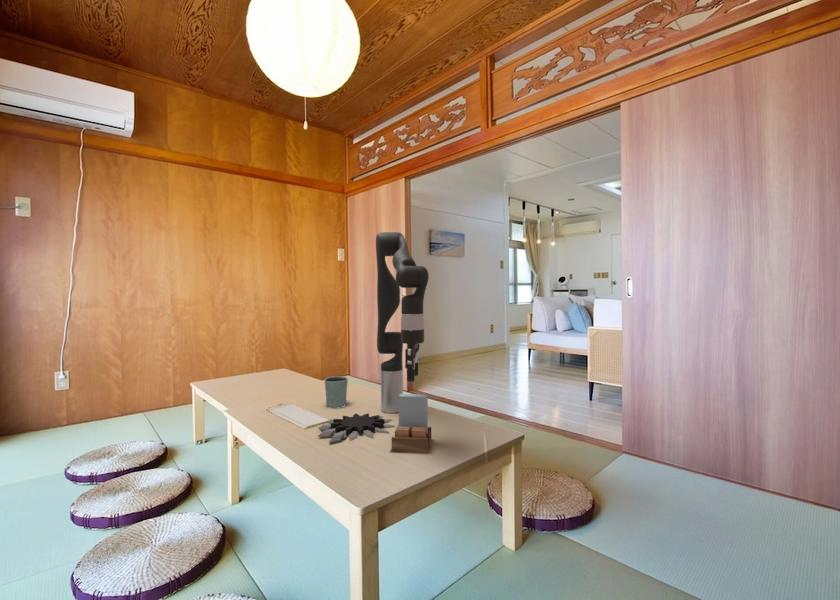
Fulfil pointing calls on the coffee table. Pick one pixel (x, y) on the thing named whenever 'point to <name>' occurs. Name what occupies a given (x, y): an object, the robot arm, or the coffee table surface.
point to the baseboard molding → (299, 416)
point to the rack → (412, 444)
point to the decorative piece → (354, 427)
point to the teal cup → (336, 391)
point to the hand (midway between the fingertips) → (412, 378)
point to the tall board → (413, 411)
